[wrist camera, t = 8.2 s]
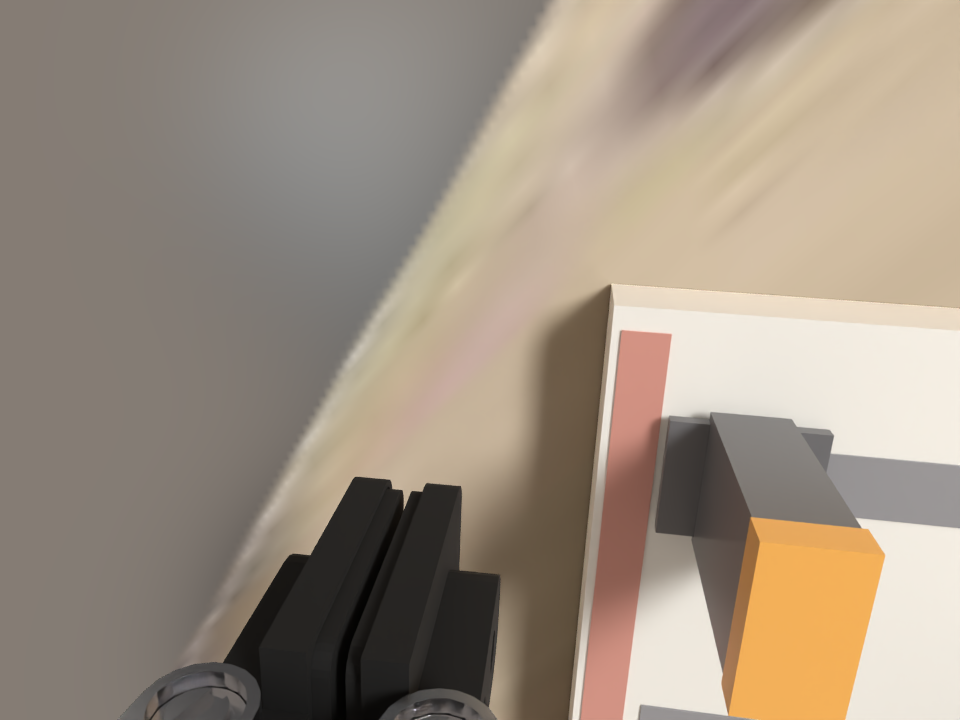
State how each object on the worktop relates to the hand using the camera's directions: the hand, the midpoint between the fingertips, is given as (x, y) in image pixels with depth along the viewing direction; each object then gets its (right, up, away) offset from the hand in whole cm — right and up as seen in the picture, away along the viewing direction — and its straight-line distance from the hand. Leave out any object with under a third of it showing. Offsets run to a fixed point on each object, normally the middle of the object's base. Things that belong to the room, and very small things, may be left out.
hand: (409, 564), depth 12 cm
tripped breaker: (+7, +1, +4) cm, 8 cm away
